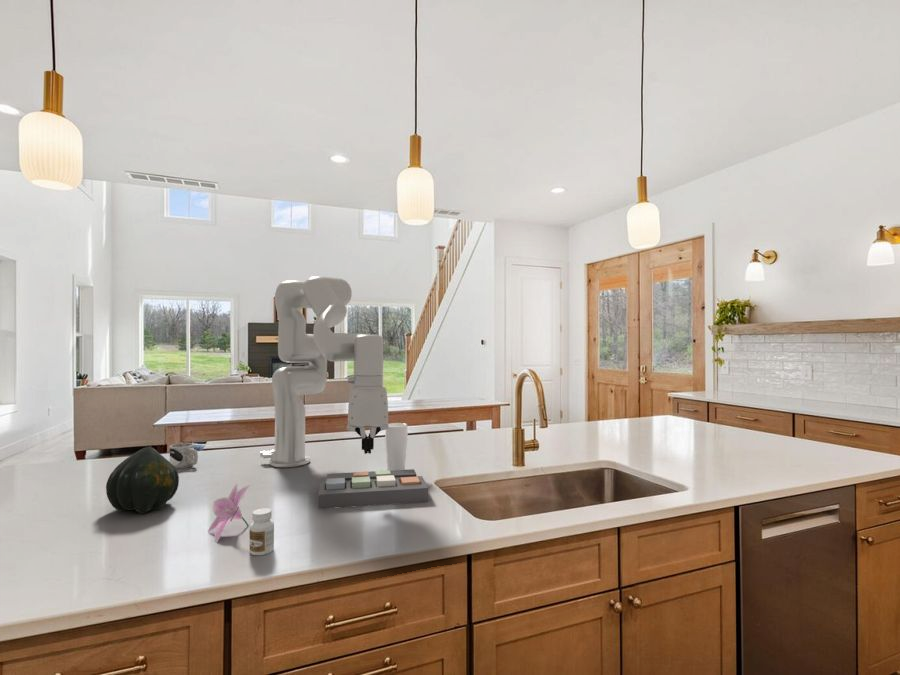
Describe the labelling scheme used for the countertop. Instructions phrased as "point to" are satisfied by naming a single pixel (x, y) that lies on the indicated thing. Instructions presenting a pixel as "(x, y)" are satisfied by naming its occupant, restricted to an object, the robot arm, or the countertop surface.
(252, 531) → the pill bottle
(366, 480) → the sage key
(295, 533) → the countertop surface
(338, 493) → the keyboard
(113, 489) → the squash
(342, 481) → the slate key
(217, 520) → the lily
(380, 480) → the cream key
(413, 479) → the terracotta key
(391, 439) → the drinking glass
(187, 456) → the mug
